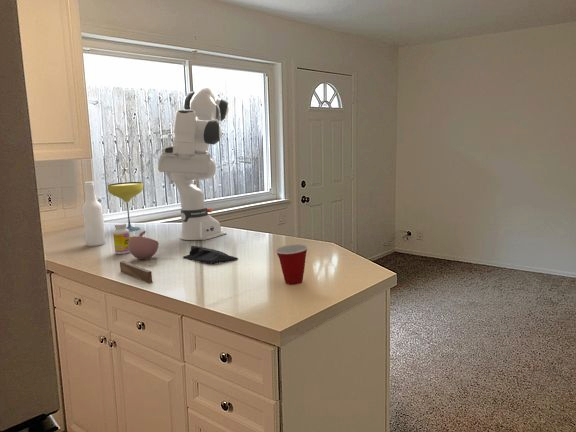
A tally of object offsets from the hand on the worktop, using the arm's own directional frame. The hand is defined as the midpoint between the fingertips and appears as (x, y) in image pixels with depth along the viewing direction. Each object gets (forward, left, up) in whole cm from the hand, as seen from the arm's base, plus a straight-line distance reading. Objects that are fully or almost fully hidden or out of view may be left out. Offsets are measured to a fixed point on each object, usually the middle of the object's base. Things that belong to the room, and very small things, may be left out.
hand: (183, 184), depth 200 cm
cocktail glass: (-10, -77, -30) cm, 83 cm away
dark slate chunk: (-3, +12, -31) cm, 33 cm away
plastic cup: (-2, +60, -30) cm, 67 cm away
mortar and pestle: (+15, -11, -30) cm, 35 cm away
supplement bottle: (+16, -29, -30) cm, 44 cm away
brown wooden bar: (+29, +11, -30) cm, 43 cm away
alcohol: (+17, -56, -30) cm, 65 cm away
